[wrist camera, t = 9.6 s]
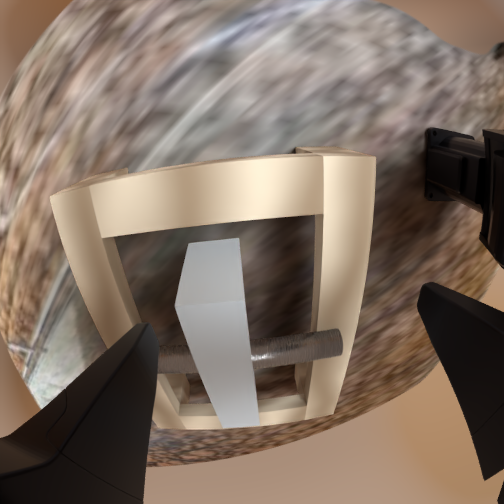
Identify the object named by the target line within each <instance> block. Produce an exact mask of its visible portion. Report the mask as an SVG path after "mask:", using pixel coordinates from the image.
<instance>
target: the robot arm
mask: <svg viewBox="0 0 504 504" xmlns="http://www.w3.org/2000/svg"><path fill="white" fill-rule="evenodd" d="M482 131H483V136H484V142H480V141H475V140H474V137H473V136H469V135H465V134H461V133H457V132H453V131H448V130H444V129H439V128H433V127H430V128H429V129H428V152H427V173H426V186H425V198H426V199H427V200H429V201H458V202H460V203H462V204H464V205H466V206H468V207H470V208H472V209H474V210H476V211H478V212H480V213H482V214H483V219H482V228H481V232H480V235H479V240H480V241H481V242H482V243H483V244H484V245H485V247H486V248H487V249H488V250H489V252H490V253H491V254H492V255H493V257H494V258H495V260H496V261H497V262H498V263H499V265H500V266H501V267H502V268H503V269H504V130H495V129H482ZM433 132H434V135H433ZM430 193H431V195H430ZM429 195H430V197H429ZM417 309H418V312H419V314H420V316H421V318H422V321H423V323H424V326H425V328H426V330H427V333H428V335H429V338H430V340H431V343H432V345H433V347H434V349H435V351H436V353H437V355H438V357H439V359H440V361H441V363H442V365H443V367H444V370H445V372H446V374H447V376H448V378H449V381H450V383H451V385H452V387H453V390H454V392H455V394H456V397H457V399H458V402H459V404H460V406H461V409H462V411H463V414H464V417H465V420H466V422H467V425H468V428H469V431H470V434H471V436H472V440H473V443H474V447H475V449H476V453H477V456H478V460H479V464H480V467H481V471H482V475H483V479H484V480H487V479H489V478H490V477H492V476H493V475H495V474H497V473H498V472H499V471H501V470H503V469H504V312H502V311H500V310H497V309H495V308H493V307H491V306H489V305H486V304H484V303H482V302H479V301H477V300H475V299H473V298H470V297H468V296H466V295H463V294H461V293H459V292H456V291H454V290H451V289H449V288H447V287H444V286H442V285H439V284H437V283H434V282H429V283H425V284H423V285H422V287H421V291H420V294H419V298H418V302H417ZM158 358H159V342H158V339H157V337H156V335H155V332H154V330H153V328H152V326H151V324H150V323H148V322H144V323H137V324H136V325H134V326H133V327H132V328H131V329H130V330H129V331H128V332H127V333H125V334H124V335H123V336H122V337H121V338H120V339H119V340H118V341H117V342H115V343H114V344H113V345H112V346H111V347H110V348H109V349H108V350H107V351H105V352H104V353H103V354H102V355H101V356H100V357H99V358H98V359H97V360H96V361H94V362H93V363H92V364H91V365H90V366H89V367H88V368H87V369H86V370H85V371H83V372H82V373H81V374H80V375H79V376H78V377H77V378H76V379H75V380H74V381H73V382H72V383H70V384H69V385H68V386H67V387H66V389H64V390H63V391H62V392H61V393H60V394H59V395H58V396H57V397H55V398H54V399H53V400H52V401H51V402H50V403H49V404H48V405H47V406H45V407H44V408H43V409H42V410H40V411H39V412H38V413H37V414H36V415H34V416H33V417H32V418H31V419H29V420H28V421H27V422H25V423H24V424H23V425H22V426H20V427H19V428H18V429H17V430H15V431H14V432H13V433H11V434H10V435H8V436H5V437H3V438H0V504H143V498H144V484H145V473H146V463H147V454H148V445H149V437H150V429H151V422H152V415H153V409H154V402H155V396H156V389H157V374H158ZM497 501H498V504H504V482H503V485H502V488H501V491H500V494H499V497H498V500H497Z"/></svg>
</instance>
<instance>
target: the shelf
mask: <svg viewBox="0 0 504 504" xmlns="http://www.w3.org/2000/svg"><path fill="white" fill-rule="evenodd" d="M375 177H376V157H375V156H371V155H368V154H364V153H360V152H356V151H352V150H348V149H344V148H339V147H296V154H281V155H265V156H252V157H240V158H230V159H220V160H212V161H204V162H196V163H189V164H182V165H175V166H169V167H163V168H157V169H151V170H146V171H141V172H136V173H131V174H129V173H128V168H123V169H119V170H114V171H110V172H106V173H101V174H97V175H93V176H91V177H89V178H87V179H85V180H82V181H80V182H78V183H76V184H74V185H72V186H70V187H68V188H65V189H63V190H61V191H59V192H57V193H56V194H54V195H52V196H50V201H51V205H52V209H53V213H54V217H55V220H56V224H57V228H58V231H59V234H60V238H61V241H62V244H63V247H64V250H65V253H66V256H67V259H68V262H69V264H70V267H71V270H72V272H73V275H74V278H75V280H76V283H77V285H78V288H79V290H80V293H81V295H82V297H83V300H84V302H85V304H86V306H87V309H88V311H89V313H90V315H91V317H92V319H93V321H94V323H95V325H96V328H97V330H98V332H99V333H100V335H101V337H102V339H103V341H104V343H105V345H106V347H107V349H109V348H110V347H111V346H112V345H113V344H114V343H115V342H117V341H118V340H119V339H120V338H121V337H122V336H123V335H124V334H125V333H127V332H128V331H129V330H130V329H131V328H132V327H133V326H134V325H136V324H137V323H142V321H141V318H140V315H139V313H138V310H137V307H136V305H135V302H134V299H133V296H132V294H131V291H130V288H129V285H128V282H127V279H126V276H125V273H124V270H123V266H122V263H121V260H120V257H119V253H118V250H117V246H116V243H115V239H114V236H121V235H128V234H136V233H143V232H151V231H158V230H166V229H174V228H182V227H191V226H200V225H209V224H218V223H227V222H237V221H247V220H257V219H268V218H279V217H291V216H303V215H315V255H314V281H313V299H312V315H311V328H310V332H315V331H316V332H318V331H324V330H330V329H335V328H338V329H339V330H340V332H341V335H342V339H343V353H342V355H341V356H337V357H332V358H327V359H321V360H316V361H310V362H304V363H298V364H295V381H296V385H297V389H298V393H299V395H292V396H286V397H279V398H271V399H262V400H257V403H258V412H259V421H260V426H266V425H275V424H282V423H289V422H295V421H301V420H307V419H312V418H317V417H322V416H327V415H331V414H333V413H334V410H335V407H336V404H337V401H338V397H339V394H340V391H341V387H342V384H343V380H344V377H345V373H346V370H347V366H348V362H349V358H350V354H351V350H352V346H353V342H354V337H355V333H356V328H357V324H358V319H359V314H360V309H361V303H362V298H363V292H364V286H365V280H366V274H367V267H368V259H369V252H370V243H371V234H372V224H373V212H374V198H375ZM189 394H190V384H189V382H188V379H187V377H186V374H157V389H156V396H155V402H154V409H153V415H152V419H153V421H154V422H155V423H156V425H157V426H158V427H159V428H163V429H194V430H200V429H232V428H223V427H222V425H221V423H220V421H219V418H218V416H217V414H216V412H215V410H214V407H213V405H212V403H207V404H189ZM250 427H257V426H250ZM237 428H246V427H237Z"/></svg>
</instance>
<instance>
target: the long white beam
mask: <svg viewBox="0 0 504 504" xmlns="http://www.w3.org/2000/svg"><path fill="white" fill-rule="evenodd" d="M175 309H176V312H177V315H178V318H179V321H180V324H181V326H182V329H183V332H184V335H185V338H186V340H187V343H188V346H189V349H190V351H191V354H192V357H193V359H194V362H195V364H196V367H197V369H198V372H199V374H200V377H201V379H202V382H203V384H204V387H205V389H206V391H207V394H208V396H209V398H210V401H211V403H212V405H213V407H214V410H215V412H216V414H217V416H218V418H219V421H220V423H221V425H222V427H223V428H237V427H250V426H260V421H259V412H258V403H257V394H256V385H255V376H254V369H253V364H252V356H251V347H250V339H249V330H248V322H247V313H246V303H245V293H244V282H243V272H242V262H241V252H240V243H239V238H233V239H223V240H214V241H204V242H195V243H189V244H188V248H187V252H186V256H185V260H184V265H183V269H182V274H181V278H180V283H179V287H178V292H177V297H176V302H175Z"/></svg>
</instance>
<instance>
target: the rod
mask: <svg viewBox="0 0 504 504" xmlns="http://www.w3.org/2000/svg"><path fill="white" fill-rule="evenodd" d="M250 347H251V356H252V364H253V369H260V368H269V367H277V366H284V365H291V364H298V363H304V362H310V361H316V360H321V359H327V358H332V357H337V356H341V355H342V353H343V339H342V335H341V332H340V330H339V329H338V328H335V329H330V330H324V331H318V332H316V331H315V332H309V333H302V334H295V335H288V336H281V337H273V338H264V339H255V340H250ZM188 373H199V372H198V369H197V367H196V364H195V362H194V359H193V357H192V354H191V351H190V349H189V346H188V345H169V346H159V358H158V374H188Z"/></svg>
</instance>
